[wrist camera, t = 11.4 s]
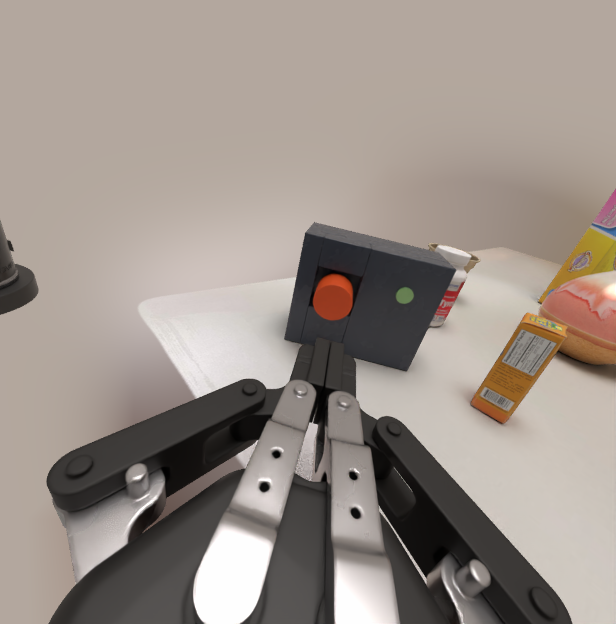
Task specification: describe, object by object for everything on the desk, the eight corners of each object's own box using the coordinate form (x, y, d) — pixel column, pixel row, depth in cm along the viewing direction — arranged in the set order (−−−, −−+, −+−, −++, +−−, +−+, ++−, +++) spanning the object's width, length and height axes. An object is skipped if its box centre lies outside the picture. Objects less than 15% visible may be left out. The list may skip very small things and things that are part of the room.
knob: (309, 315, 26) (317, 280, 24) (313, 301, 28) (321, 269, 27) (346, 324, 26) (357, 290, 24) (347, 310, 28) (357, 278, 27)
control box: (283, 340, 30) (304, 233, 25) (294, 314, 36) (314, 222, 30) (407, 373, 30) (458, 270, 24) (399, 341, 35) (439, 252, 30)
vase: (527, 320, 52) (590, 227, 44) (622, 359, 45) (719, 257, 37) (518, 342, 42) (597, 228, 34) (637, 397, 35) (774, 270, 27)
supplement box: (474, 388, 30) (527, 309, 25) (509, 409, 28) (574, 328, 23) (465, 403, 27) (523, 318, 23) (503, 426, 26) (574, 339, 21)
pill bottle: (423, 329, 40) (459, 257, 35) (395, 308, 44) (422, 241, 39) (450, 326, 43) (486, 259, 37) (421, 306, 47) (450, 244, 42)
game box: (561, 314, 60) (661, 179, 47) (536, 302, 64) (621, 176, 52) (606, 313, 68) (701, 198, 56) (581, 302, 73) (664, 194, 60)
